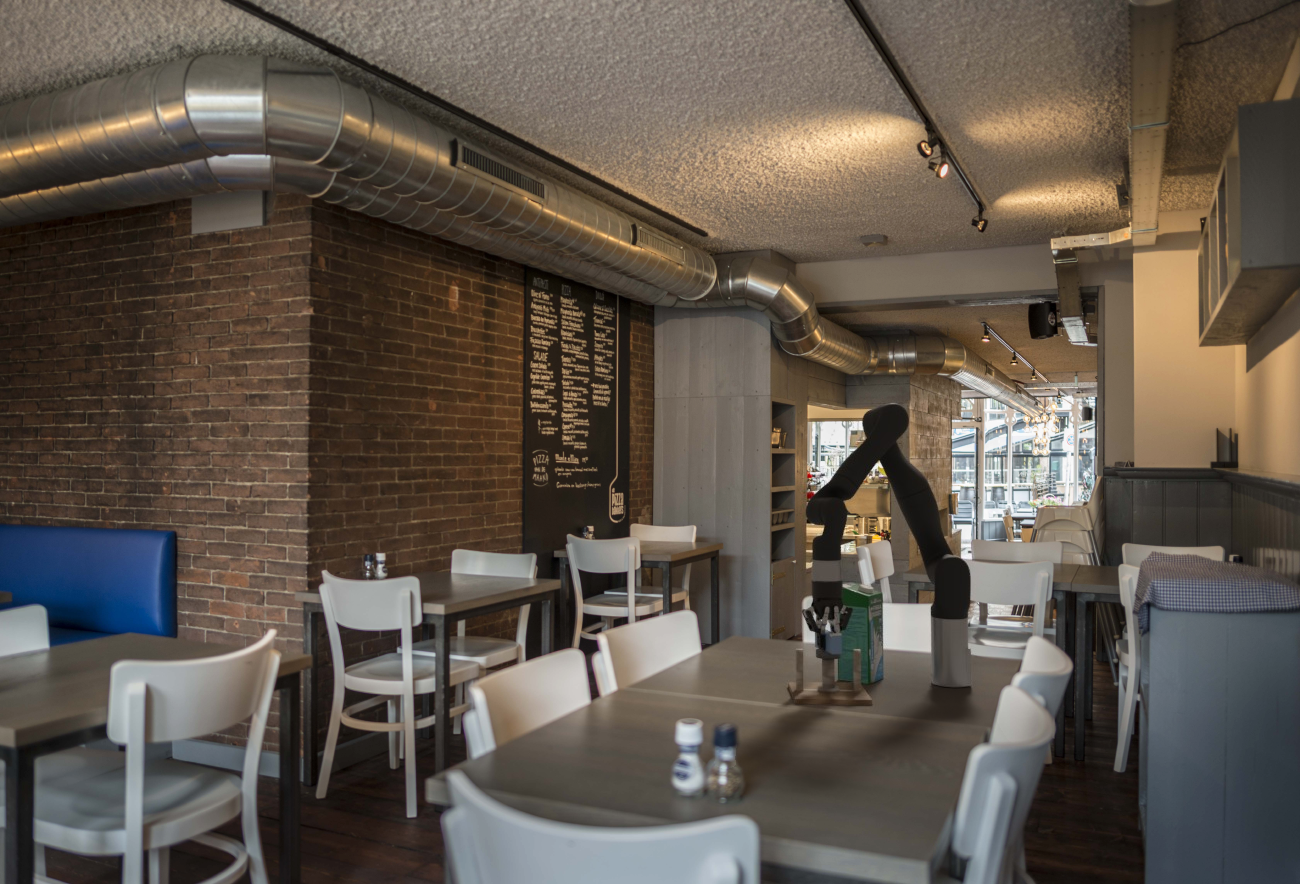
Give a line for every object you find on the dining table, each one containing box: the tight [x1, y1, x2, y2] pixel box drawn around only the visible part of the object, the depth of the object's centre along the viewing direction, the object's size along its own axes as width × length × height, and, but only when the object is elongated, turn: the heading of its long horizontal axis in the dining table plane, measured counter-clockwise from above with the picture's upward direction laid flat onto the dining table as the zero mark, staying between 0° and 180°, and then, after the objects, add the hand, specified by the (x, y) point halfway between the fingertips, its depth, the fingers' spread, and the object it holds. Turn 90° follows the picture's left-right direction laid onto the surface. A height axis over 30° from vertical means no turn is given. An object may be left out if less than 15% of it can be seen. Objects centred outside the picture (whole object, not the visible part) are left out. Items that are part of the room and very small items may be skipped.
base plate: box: [787, 648, 873, 706], centre depth 229 cm, size 18×18×11 cm
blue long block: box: [814, 629, 842, 660], centre depth 229 cm, size 6×10×6 cm, turn 14°
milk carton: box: [837, 581, 885, 685], centre depth 248 cm, size 9×9×25 cm
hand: (827, 648), depth 229 cm, fingers closed on blue long block, 2 cm apart
